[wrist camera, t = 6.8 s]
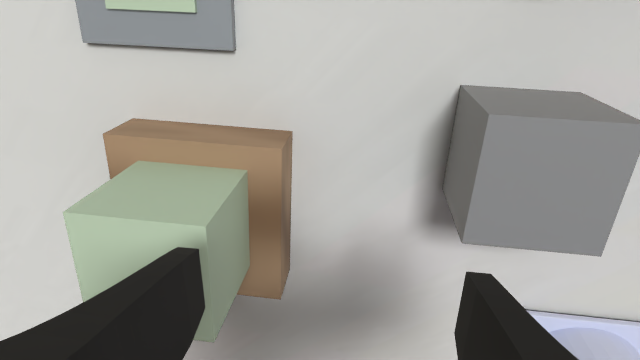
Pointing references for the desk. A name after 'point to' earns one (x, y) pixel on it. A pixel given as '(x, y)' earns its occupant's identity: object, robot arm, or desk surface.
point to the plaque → (159, 23)
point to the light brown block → (234, 153)
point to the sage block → (165, 230)
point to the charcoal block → (538, 168)
